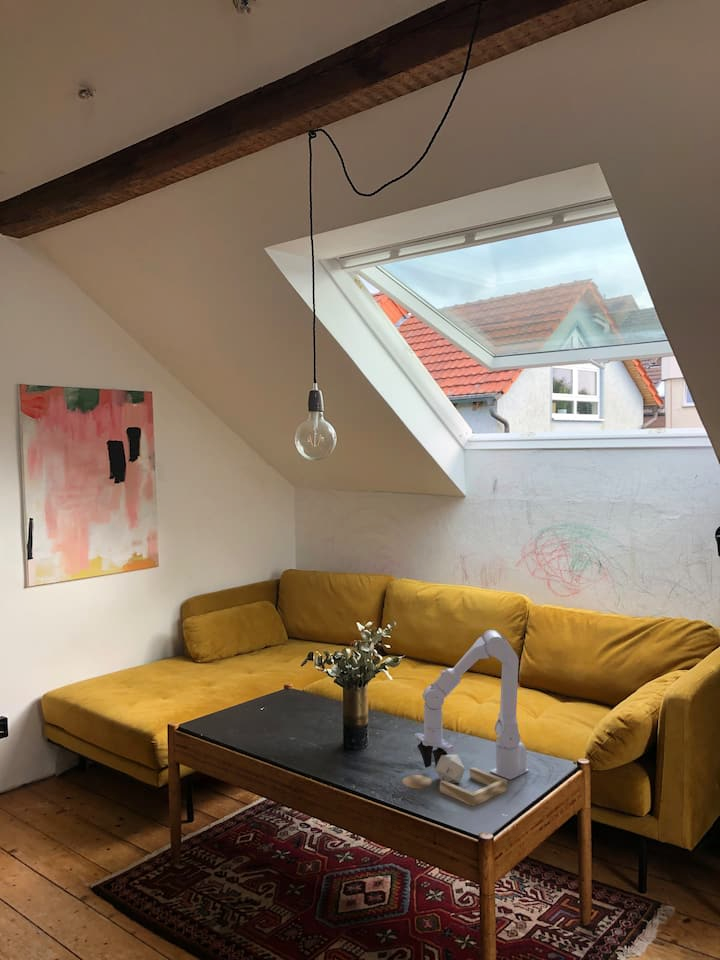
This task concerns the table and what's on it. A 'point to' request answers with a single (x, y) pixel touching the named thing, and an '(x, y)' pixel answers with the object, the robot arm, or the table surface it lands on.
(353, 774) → the table surface
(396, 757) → the table surface
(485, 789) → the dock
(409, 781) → the coaster
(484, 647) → the robot arm
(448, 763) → the die
